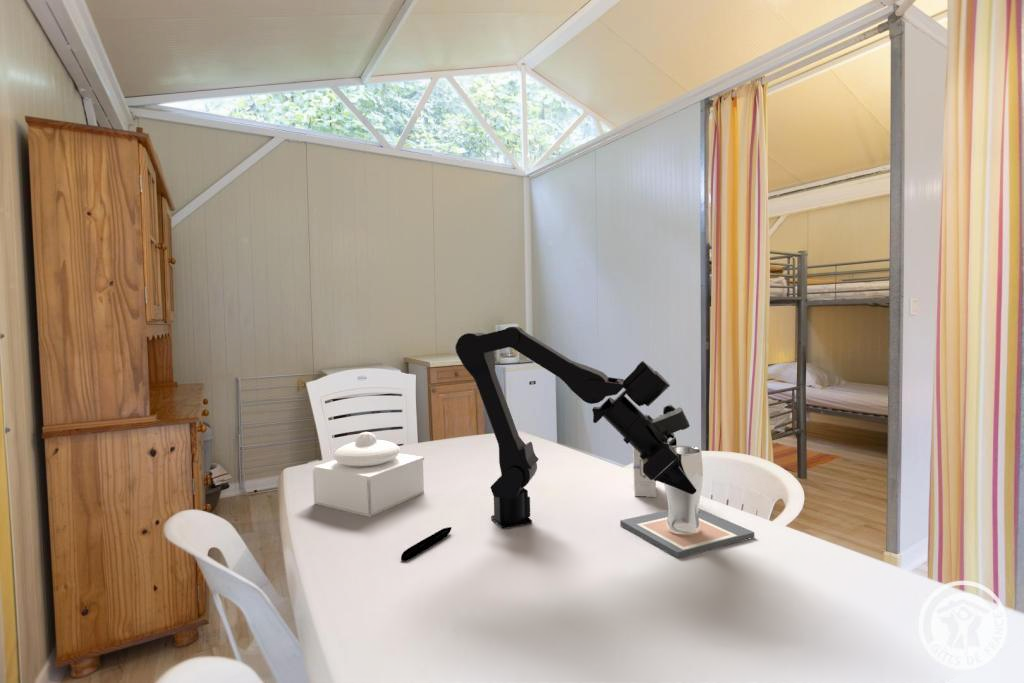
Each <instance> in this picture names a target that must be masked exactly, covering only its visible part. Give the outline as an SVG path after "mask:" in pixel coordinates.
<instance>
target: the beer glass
mask: <svg viewBox="0 0 1024 683" xmlns="http://www.w3.org/2000/svg"><path fill="white" fill-rule="evenodd" d="M671 447H672V448H673V449H674V450H675V451H676V452H677V454H679V467H680V468H681V469H682V471H683V472H684V473H685V475H686V476H687V477H688V479H689V480H690V481H691V483H692V484H693V486H694V487H695V488H696V492H695V493H694V494H689V493H687V492H685V491H682V490H680V489H677V488H675V487H672V486H670V485H667V484H664V483H663V484H664V491H665V495H666V500H667V510H668V518H667V524H666V529H667V530H668V531H669V532H671V533H673V534H676V535H680V536H694V535H697V534H699V533H700V531H701V529H700V523H699V518H698V508H699V506H700V505H699V503H700V500H701V499H700V498H701V494H702V488H703V481H704V477H703V476H704V473H703V472H704V468H703V466H704V465H703V458H702V456H703V455H702V449H700V448H698V447H695V446H689V445H677V446H671Z"/></svg>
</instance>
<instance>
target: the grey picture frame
mask: <svg viewBox="0 0 1024 683" xmlns="http://www.w3.org/2000/svg"><path fill="white" fill-rule="evenodd" d="M667 518H668V509H666V510H661V511H658V512H652V513H647V514H644V515H640V516H635V517H630V518H625V519H621V520H620V522H619V523H620V527H622V526H623V528H624V529H625V530H628V531H629V532H631V533H633V534H634V535H636V534H637V535H636V536H638V537H640V538H641V537H642V538H641V539H643V538H644V539H643V540H645V539H646V540H645V541H647V542H648V541H649V542H648V543H650V542H651V543H650V544H652V545H653V546H655V547H657V548H659V549H661V550H663V551H664V552H666V553H668V554H670V555H671V556H672V557H675V558H677V559H681V558H684V557H687V556H691V554H692V555H694V554H699V553H702V552H706V550H707V551H710V550H713V548H714V549H718V548H721V547H725V546H728V545H727V544H729V545H732V543H733V544H735V542H736V543H739V542H738V541H740V542H743V541H742V540H744V541H746V540H745V539H747V540H750V539H749V538H751V539H754V538H755V532H754V531H752V530H750V529H748V528H745V527H743V526H741V525H738V524H736V523H734V522H731V521H729V520H728V519H724V518H722V517H720V516H717V515H716V514H713V513H710V512H709V511H705V510H703V509H701V508H699V507H698V518H699V523H700V529H701V531H700V533H699V534H697V535H694V536H680V535H676V534H673V533H671V532H669V531H668V530H667V529H666V524H667ZM753 537H754V538H753ZM724 545H725V546H724ZM720 546H721V547H720ZM717 547H718V548H717ZM709 549H710V550H709Z"/></svg>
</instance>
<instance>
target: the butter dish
mask: <svg viewBox="0 0 1024 683" xmlns="http://www.w3.org/2000/svg"><path fill="white" fill-rule="evenodd" d="M333 459H334V460H330V461H327V462H324V463H320V464H318V465H315V466H313V468H312V486H313V489H312V490H313V491H312V492H313V502H314V504H315V505H319V506H323V507H326V508H331V509H335V510H339V511H344V512H348V513H352V514H356V515H361V516H364V517H368V518H371V517H373V516H375V515H377V514H380V513H381V512H384V511H386V510H388V509H391V508H393V507H395V506H398V505H399V504H402V503H404V502H406V501H408V500H410V499H413V498H414V497H417V496H420V495H421V494H424V493H425V490H424V489H425V487H424V486H425V485H424V484H425V483H424V461H425V457H424V456H420V455H419V456H418V455H413V454H406V453H401V448H400V446H399V445H398V444H396V443H395V442H392V441H389V440H384V439H377V436H376V435H375V434H374V433H372V432H369V431H363V432H360V433H359V434H358V436H357V437H356V438H355V441H353V442H350V443H346V444H344V445H342V446H340V447H339V448H337V449H336V450H335V451H334V453H333Z"/></svg>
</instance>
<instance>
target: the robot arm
mask: <svg viewBox="0 0 1024 683" xmlns="http://www.w3.org/2000/svg"><path fill="white" fill-rule="evenodd" d="M507 348H510V349H513V350H515V351H516V352H518V353H519V354H521V355H523V356H524V357H525V358H527V359H529V360H530V361H533V362H534V363H535V364H537V365H538V366H540V367H542V368H544V369H545V370H546V371H548V372H550V373H551V374H552V375H555V376H556V377H557V378H559V379H560V380H561V381H562V382H564V384H566V386H567V387H568V389H570V391H572V393H574V394H575V395H577V397H578V398H579V399H581V400H582V401H583V402H585V403H587V404H591V405H593V404H598V403H601V402H602V401H604V399H605V398H606V397H608V398H607V399H606V400H605V401H604V402H603V403H602V404H601V405H600V406H593V408H592V416H593V419H592V422H593V423H594V424H596V423H598V422H599V421H600V420H601V419H602V418H604V419H605V420H606V421H607V423H609V424H610V425H611V426H612V427H613V428H614V429H615V430H616V431H617V432H618V433H619V434H620V435H621V437H623V440H622V441H624V442H625V444H627V445H628V444H630V445H631V446H632V448H633V447H634V448H635V449H636V450H637V451H638V452H639V453H640V457H641V458H642V459H643V473H644V474H645V475H646V476H647V477H648V478H649V479H650V480H654V481H656V482H660V483H662V484H667V485H670V486H672V487H675V488H677V489H680V490H682V491H685V492H687V493H689V494H694V493H695V492H696V488H695V487H694V486H693V484H692V483H691V481H690V480H689V479H688V477H687V476H686V475H685V473H684V472H683V471H682V469H681V468H680V467H679V454H677V452H676V451H675V450H674V449H673V448H672V447H671V446H678V444H677V443H678V442H677V437H676V436H675V433H676V432H679V431H680V430H681V431H685V430H687V429H688V428H690V426H691V425H690V422H689V420H688V418H687V416H686V414H685V412H684V410H683V408H682V407H677V408H676V407H674V406H673V405H672V404H668V405H666V406H664V407H663V408H662V409H663V411H662V412H663V413H662V414H660V415H659V416H656V417H654V418H653V417H651V415H649V414H644V413H643V412H642V411H641V410H640V409H639V408H638V407H641V406H646V407H649V406H651V405H652V403H654V401H656V400H657V399H659V397H660V396H661V395H662V394H664V393H665V391H666V390H668V388H669V387H670V386H671V385H670V383H669V382H668V381H667V380H666V379H665V377H664V376H662V374H660V373H659V372H658V371H657V370H655V369H653V368H652V367H651V366H650V365H649V364H647V363H646V362H645V361H644V360H640V362H639V363H638V364H637V365H636V367H635V368H634V370H632V371H631V373H630V374H628V375H627V376H626V377H625V378H620V377H618V378H617V377H611V376H610V377H609V376H608V375H607V374H606V373H605V372H603V371H602V370H598V369H596V368H593V367H591V366H588V365H585V364H583V363H579V362H577V361H575V360H574V361H573V360H571V359H569V358H568V357H566V356H565V355H563V354H562V353H560V352H558V351H557V350H555V349H553V348H552V347H550V346H548V345H546V344H545V343H544V342H542V341H540V340H539V339H537V338H536V337H534V336H533V335H531V334H529V333H527V332H526V331H525V330H524V329H523V328H522V327H519V326H509V327H506V328H504V329H500V330H497V331H493V332H487V333H485V332H480V331H478V332H477V331H475V332H469V333H464V334H462V335H461V336H460V337H459V338H458V339H457V341H456V344H455V353H456V354H457V356H458V359H459V360H460V362H461V364H462V366H463V368H464V369H465V370H466V372H467V373H468V374H469V375H470V376H471V377H472V378H473V380H474V382H475V383H476V384H475V385H476V387H477V389H478V393H479V395H480V398H481V401H482V403H483V407H484V409H485V412H486V415H487V418H488V420H489V423H490V425H491V429H492V431H493V434H494V436H495V439H496V442H497V444H498V463H499V469H500V474H501V475H500V476H499V477H498V478H497V479H496V480H495V481H494V482H493V484H491V486H490V490H491V494H492V496H493V514H492V515H490V519H491V520H492V521H494V522H495V524H497V525H498V526H499V527H500V528H501V529H510V528H514V527H515V528H516V527H519V526H523V525H528V524H532V523H533V520H532V519H531V518H530V517H531V497H530V496H529V492H528V491H529V490H527V489H526V488H525V487H526V486H527V485H528V484H529V483H530V481H531V480H532V479H533V477H534V476H535V475H536V472H537V471H538V464H537V462H538V461H539V458H538V457H537V455H536V453H535V450H534V446H533V442H532V441H529V442H527V443H525V442H524V441H523V439H522V438H521V437H520V435H519V433H518V430H517V427H516V425H515V421H514V419H513V417H512V416H513V415H512V414H511V410H510V408H509V405H508V402H507V400H506V397H505V395H504V392H503V390H502V386H501V383H500V381H499V378H498V376H497V373H496V356H495V351H500V350H504V349H507ZM623 389H624V390H623ZM621 391H622V392H621ZM619 392H621V393H620V394H619ZM618 394H619V395H618ZM616 395H618V396H617V397H615V399H614V398H612V397H611V396H616ZM627 396H628V397H629V398H628V397H627ZM634 404H635V405H637V406H638V407H637V406H635V405H634ZM670 438H671V440H669V439H670Z"/></svg>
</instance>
